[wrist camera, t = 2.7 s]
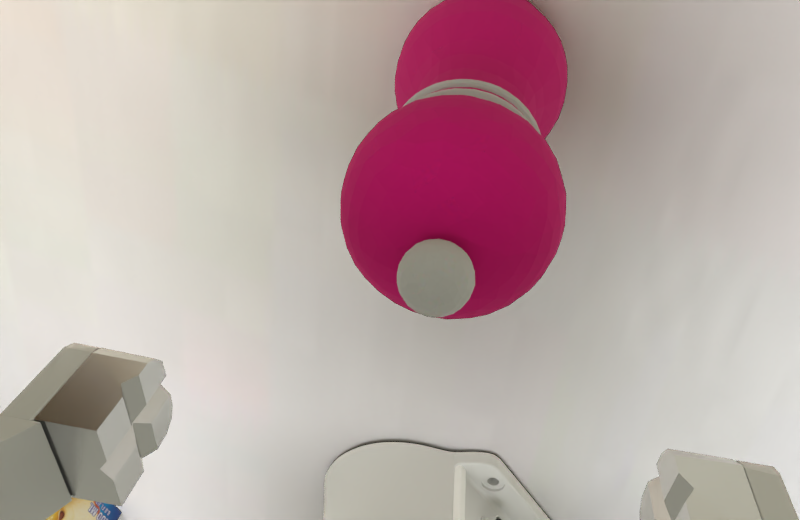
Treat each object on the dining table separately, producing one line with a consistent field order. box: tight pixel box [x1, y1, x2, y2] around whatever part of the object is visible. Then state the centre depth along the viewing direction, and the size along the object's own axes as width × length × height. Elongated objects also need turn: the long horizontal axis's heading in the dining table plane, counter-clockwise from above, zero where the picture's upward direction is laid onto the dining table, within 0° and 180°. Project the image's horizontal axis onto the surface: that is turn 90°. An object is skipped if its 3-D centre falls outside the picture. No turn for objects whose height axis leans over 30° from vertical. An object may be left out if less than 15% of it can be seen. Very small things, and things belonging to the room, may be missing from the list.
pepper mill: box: [341, 0, 567, 319], centre depth 21 cm, size 7×7×20 cm
